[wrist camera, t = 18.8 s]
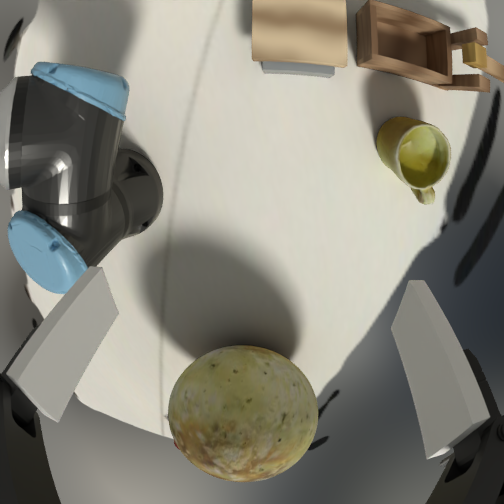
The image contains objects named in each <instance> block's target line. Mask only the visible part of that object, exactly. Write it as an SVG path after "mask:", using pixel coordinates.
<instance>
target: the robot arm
mask: <svg viewBox="0 0 504 504" xmlns="http://www.w3.org/2000/svg"><path fill="white" fill-rule="evenodd" d="M31 74H32V75H31V76H21V77H15V78H14V79H13V80H12V81H11V82H10V83H9V84H8V85H7V86H6V87H5V88H4V89H3V90H2V91H1V92H0V184H1V185H2V186H3V187H4V188H5V189H7V190H10V189H15V188H21V187H22V205H23V207H22V210H21V211H18V212H16V213H15V214H14V216H13V217H12V219H11V221H10V222H9V225H8V238H9V242H10V246H11V249H12V251H13V253H14V255H15V257H16V259H17V261H18V262H19V264H20V265H21V267H22V268H23V269H24V271H25V272H26V273H27V274H28V275H29V276H30V277H31V278H32V279H33V280H34V281H35V282H36V283H37V284H39V285H40V286H41V287H43V288H44V289H46V290H48V291H50V292H53V293H57V294H65V295H64V296H63V297H62V299H61V300H60V301H59V302H58V303H57V305H56V306H55V307H54V308H53V310H52V311H51V312H50V313H49V315H48V316H47V317H46V318H45V320H44V321H43V322H42V323H41V324H40V325H38V326H37V327H36V328H34V329H33V330H32V332H31V333H30V334H29V335H28V337H27V338H26V341H24V342H23V344H22V345H21V348H19V349H18V351H17V352H16V353H15V355H14V357H13V358H12V359H11V361H10V362H9V364H8V365H7V367H6V368H5V370H4V371H3V372H2V374H0V504H61V502H60V499H59V497H58V494H57V491H56V487H55V485H54V481H53V478H52V474H51V471H50V467H49V463H48V459H47V455H46V451H45V446H44V442H43V437H42V431H41V425H40V418H39V416H38V413H37V412H36V410H37V408H38V409H39V410H40V411H41V412H42V413H43V414H44V415H45V416H47V417H49V418H51V419H53V420H55V421H56V422H59V420H60V418H61V416H62V414H63V412H64V409H65V408H66V406H67V404H68V402H69V400H70V398H71V396H72V394H73V392H74V390H75V388H76V386H77V385H78V383H79V381H80V379H81V377H82V375H83V373H84V372H85V370H86V368H87V366H88V364H89V363H90V361H91V359H92V357H93V356H94V354H95V352H96V350H97V349H98V347H99V345H100V344H101V342H102V340H103V339H104V337H105V335H106V334H107V332H108V330H109V329H110V327H111V325H112V324H113V322H114V321H115V319H116V317H117V316H118V314H119V312H118V309H117V307H116V304H115V302H114V299H113V296H112V293H111V291H110V288H109V285H108V282H107V279H106V277H105V274H104V271H103V268H102V267H96V266H97V265H98V264H99V263H100V262H101V261H102V260H103V258H104V257H105V256H106V255H107V254H108V253H109V252H110V251H111V250H112V249H113V248H114V247H115V246H116V245H117V244H118V243H119V242H120V241H121V240H122V239H125V238H128V237H131V236H134V235H137V234H140V233H141V232H143V231H145V230H146V229H147V228H148V227H149V226H150V225H151V224H152V223H153V222H154V221H155V220H156V218H157V217H158V215H159V213H160V211H161V208H162V203H163V188H162V183H161V180H160V177H159V175H158V173H157V171H156V169H155V168H154V166H153V165H152V164H151V163H150V162H149V161H148V160H147V159H146V158H145V157H144V156H142V155H141V154H139V153H137V152H135V151H132V150H127V149H118V146H119V141H120V136H121V132H122V127H123V123H124V121H125V120H126V116H125V111H126V106H127V101H128V96H129V85H128V82H127V81H126V80H125V79H124V78H123V77H121V76H119V75H116V74H112V73H108V72H104V71H100V70H95V69H91V68H86V67H80V66H74V65H67V64H59V63H50V62H38V63H36V64H35V65H34V67H33V69H32V70H31ZM391 330H392V333H393V336H394V339H395V341H396V344H397V347H398V350H399V353H400V356H401V359H402V363H403V366H404V369H405V372H406V375H407V379H408V382H409V385H410V389H411V392H412V396H413V400H414V404H415V408H416V411H417V416H418V420H419V424H420V428H421V433H422V437H423V442H424V446H425V452H426V457H427V459H429V458H432V457H435V456H439V455H442V454H444V453H446V452H447V451H448V450H450V449H451V448H454V453H452V454H451V455H450V456H448V457H446V458H445V459H444V460H442V462H441V463H440V464H439V465H440V466H442V465H443V464H445V463H447V462H448V463H447V465H446V466H444V467H445V469H444V471H443V473H442V475H441V477H440V479H439V481H438V483H437V485H436V487H435V489H434V490H433V492H432V494H431V496H430V497H429V499H428V501H427V502H426V504H504V415H503V416H501V414H500V412H499V410H498V407H497V404H496V402H495V399H494V397H493V394H492V392H491V389H490V387H489V384H488V382H487V381H486V377H485V375H484V373H483V372H482V368H481V366H480V364H479V362H478V360H477V358H476V357H475V356H474V355H473V354H472V353H471V351H470V350H469V349H466V350H462V348H461V345H460V344H459V341H458V339H457V338H456V336H455V334H454V332H453V330H452V328H451V326H450V324H449V322H448V321H447V319H446V317H445V315H444V313H443V312H442V310H441V308H440V306H439V304H438V303H437V301H436V299H435V298H434V296H433V294H432V293H431V291H430V289H429V288H428V286H427V285H426V283H425V281H423V280H409V282H408V285H407V288H406V291H405V293H404V296H403V299H402V302H401V304H400V307H399V310H398V312H397V315H396V318H395V320H394V322H393V324H392V327H391Z"/></svg>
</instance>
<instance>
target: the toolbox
mask: <svg viewBox="0 0 504 504" xmlns="http://www.w3.org/2000/svg"><path fill="white" fill-rule="evenodd" d="M356 31H357V66H358V67H364V68H369V69H374V70H378V71H383V72H387V73H391V74H395V75H399V76H402V77H406V78H410V79H413V80H416V81H420V82H423V83H426V84H429V85H432V86H435V87H438V88H441V89H443V90H464V91H479V92H490V80H489V79H487V78H485V77H483V76H482V75H480V74H465V75H452V50H457V49H462V44H466V43H472V42H475V43H477V44H479V45H481V46H484V45H488V41H487V34H486V33H485V32H483V31H481V30H480V29H478V28H476V27H475V28H471V29H467V30H463V31H459V32H455V33H451V34H450V27H448V26H446V25H444V24H442V23H439V22H437V21H435V20H432V19H430V18H427V17H425V16H422V15H419V14H417V13H414V12H411V11H408V10H405V9H402V8H399V7H396V6H392V5H389V4H385V3H382V2H378V1H374V0H368V1H367V2H366V4H365V5H364V6H363V7H362V8H361V9H360V10H359V11H358V12H357V13H356Z"/></svg>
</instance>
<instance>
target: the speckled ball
mask: <svg viewBox="0 0 504 504" xmlns="http://www.w3.org/2000/svg"><path fill="white" fill-rule="evenodd" d="M168 418H169V425H170V430H171V433H172V436H173V438H174V440H175V442H176V444H177V446H178V448H179V449H180V450H181V452H182V453H183V454H184V456H185V457H186V458H187V459H188V460H189V461H190V462H191V463H192V464H194V465H195V466H196V467H198V468H199V469H200V470H202V471H204V472H206V473H208V474H209V475H212V476H214V477H217V478H220V479H224V480H228V481H235V482H254V481H259V480H264V479H268V478H271V477H273V476H276V475H278V474H280V473H282V472H284V471H285V470H287V469H288V468H290V467H291V466H293V465H294V464H295V463H296V462H297V461H298V460H299V459H300V458H301V457H302V455H304V453H305V452H306V451H307V449H308V448H309V446H310V444H311V442H312V440H313V438H314V435H315V431H316V427H317V422H318V406H317V401H316V397H315V394H314V391H313V389H312V386H311V384H310V383H309V381H308V379H307V378H306V376H305V375H304V374H303V373H302V371H301V370H300V369H299V368H298V367H297V366H296V365H295V364H294V363H292V362H291V361H290V360H288V359H287V358H285V357H284V356H282V355H280V354H278V353H276V352H274V351H271V350H269V349H265V348H262V347H257V346H249V345H236V346H228V347H223V348H220V349H216V350H214V351H211V352H209V353H207V354H205V355H203V356H201V357H200V358H198V359H197V360H195V361H194V362H193V363H192V364H190V365H189V366H188V367H187V368H186V369H185V371H184V372H183V373H182V374H181V376H180V377H179V378H178V380H177V382H176V384H175V386H174V388H173V390H172V393H171V396H170V400H169V407H168Z"/></svg>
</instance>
